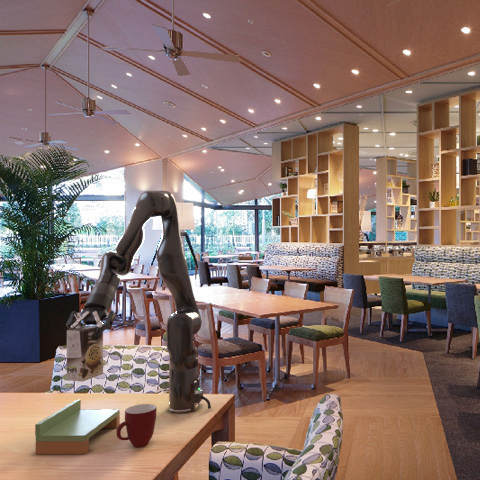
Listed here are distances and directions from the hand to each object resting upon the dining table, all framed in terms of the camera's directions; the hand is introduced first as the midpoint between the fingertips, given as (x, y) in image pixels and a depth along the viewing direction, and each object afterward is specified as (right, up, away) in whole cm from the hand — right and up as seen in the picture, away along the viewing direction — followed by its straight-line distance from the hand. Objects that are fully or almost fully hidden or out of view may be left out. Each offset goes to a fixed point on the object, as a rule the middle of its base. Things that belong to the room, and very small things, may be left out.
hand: (82, 339), depth 156 cm
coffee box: (0, -13, +1) cm, 13 cm away
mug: (+27, -26, -21) cm, 42 cm away
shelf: (+9, -25, -16) cm, 31 cm away
